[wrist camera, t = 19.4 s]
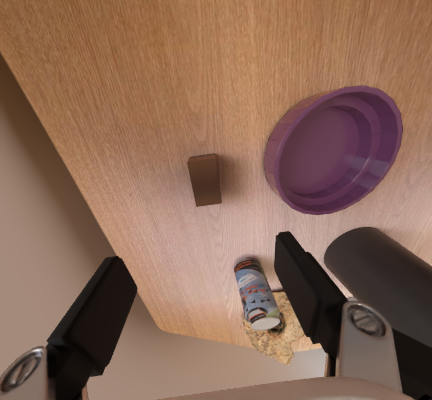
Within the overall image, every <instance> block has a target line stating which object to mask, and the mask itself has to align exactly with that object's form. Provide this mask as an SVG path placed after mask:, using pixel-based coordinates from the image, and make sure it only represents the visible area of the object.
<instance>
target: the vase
mask: <svg viewBox="0 0 432 400" xmlns="http://www.w3.org/2000/svg"><path fill="white" fill-rule="evenodd" d="M324 262H325V265H326V267H327V268H328V269H329V270H330V271H331V272H332V273H333V274H334V275H335V277H336V278H337V279H338V280H339V281H340V282H341V283H342V284H343V285H344V286H345V287H346V288H347V289H348V291H349V292H350V293H351V294H352V295H353V296H354V297H355V298H356V299H357V300H358V301H360V302H363V303H365V304H367V305H369V306H371V307H373V308H374V309H376V310H377V311H378V312H380V313H381V314H382V315H383V316H384V317H385V318H386V320H387V321H388V323H389V324H390V326H391V328H393V329H395V330H397V331H399V332H401V333H403V334H405V335H407V336H409V337H411V338H413V339H415V340H417V341H419V342H421V343H423V344H425V345H427V346H429V347H431V348H432V266H430V265H429V264H428V263H426V262H425V261H423V260H422V259H421V258H419V257H417V256H416V255H415V254H413V253H412V252H410V251H409V250H407V249H406V248H405V247H403V246H401V245H400V244H399V243H397V242H396V241H394V240H393V239H392V238H390V237H388V236H387V235H386V234H384V233H383V232H381V231H380V230H378V229H375V228H371V227H363V228H357V229H354V230H351V231H349V232H346V233H345V234H343V235H341V236H340V237H338V238H337V239H336V240H335V241H333V242H332V244H331V245H330V246H329V247H328V249H327V251H326V253H325V256H324Z"/></svg>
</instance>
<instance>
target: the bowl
mask: <svg viewBox="0 0 432 400" xmlns="http://www.w3.org/2000/svg"><path fill="white" fill-rule="evenodd" d="M402 132H403V126H402V119H401V113H400V111H399V109H398V107H397V105H396V104H395V102H394V100H393V99H392V98H391V97H390V96H388V95H387V94H386V93H384V92H383V91H382V90H380V89H376V88H372V87H368V86H363V85H362V86H352V87H343V88H339V89H335V90H332V91H328V92H324V93H320V94H317V95H315V96H312V97H310V98H307V99H305V100H303V101H302V102H300V103H299V104H297V105H296V106H295V107H293V108H292V109H291V110H289V111H288V112H287V114H286V115H285V116H284V117H283V118H282V119H281V120H280V121H279V123H278V124H277V126H276V127H275V129H274V131H273V133H272V134H271V136H270V138H269V141H268V144H267V148H266V151H265V158H264V170H265V174H266V178H267V181H268V183H269V184H270V186H271V188H272V190H273V191H274V192H275V193H276V194H277V195H278V196H279V197H280V198H281V199H282V200H283V201H284V202H286V203H287V204H288V205H289V206H290V207H291V208H293V209H295V210H297V211H299V212H302V213H304V214H312V215H322V214H330V213H334V212H337V211H340V210H343V209H345V208H347V207H349V206H351V205H353V204H355V203H357V202H358V201H360V200H361V199H362V198H364V197H365V196H366V195H368V194H369V193H370V192H371V191H373V189H374V188H375V187H376V186H377V185H378V184H379V183H380V182H381V181H382V180H383V179H384V177H385V176H386V174H387V173H388V171H389V170H390V168H391V166H392V165H393V163H394V161H395V159H396V156H397V153H398V151H399V148H400V145H401V139H402Z"/></svg>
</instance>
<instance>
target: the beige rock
mask: <svg viewBox="0 0 432 400" xmlns="http://www.w3.org/2000/svg"><path fill="white" fill-rule="evenodd" d="M273 296H274V298H275V301H276V303H277V306H278V308H279V311H280V315H279V319H280V323H279V324H278V325H276V326H275V327H273V328H270V329H267V330H261V331H256V330H253V329H252V327H251V325H250V324H249V323H248V322H247V320H246V317H245V318H244V320H243V324H244V330H245V332H246V334H247V335H248V337H249V339H250V341H251V343H252V345H253V346H254V347H255V348H256V349H257V350H258V351H259V352H261V353H263V354H265V355H266V356H269V357H272V358H274V359H276V360H277V361H279V362H281V363H283V364H284V365H288V364H290V362H291V359H292V357H293V356H294V353H293V351H292V347H291V342H293V341H295V340H297V339H299V338H301V337H303V336H304V332H303V330H302V328H301V325H300V323H299V321H298V319H297V317H296V315H295V313H294V311H293V308H292V306H291V304H290V302H289V300H288V298H287V296H286V294H285V293H284V292H280V293H276V292H273Z"/></svg>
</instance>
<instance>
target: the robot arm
mask: <svg viewBox="0 0 432 400" xmlns="http://www.w3.org/2000/svg"><path fill="white" fill-rule="evenodd" d="M274 269H275V272H276V274H277V276H278V279H279V281H280V283H281V285H282V287H283V289H284V291H285V294H286V296H287V298H288V300H289V302H290V304H291V306H292V308H293V311H294V313H295V315H296V317H297V319H298V321H299V323H300V325H301V328H302V330H303V332H304V334H305V335H306V336H307V337H310V339H311V341H312V343H313V344H316V343H320V344H321V346H322V348H323V349H324V351H325V352H326V353H327V354H326V364H325V374H324V377H319V378H310V379H301V380H292V381H284V382H276V383H270V384H262V385H255V386H248V387H241V388H234V389H227V390H220V391H213V392H207V393H200V394H193V395H186V396H180V397H173V398H166V399H159V400H432V348H431V347H429V346H427V345H425V344H423V343H421V342H419V341H417V340H415V339H413V338H411V337H409V336H407V335H405V334H403V333H401V332H399V331H397V330H395V329H393V328H391V326H390V324H389V323H388V321H387V320H386V318H385V317H384V316H383V315H382V314H381V313H380V312H378V311H377V310H376V309H374V308H373V307H371V306H369V305H367V304H365V303H363V302H360V301H348V299H347V298H346V297H345V296H344V294H343V293H342V292H341V291H340V289H339V288H338V287H337V286H336V284H335V283H334V282H333V281H332V279H331V278H330V277H329V276H328V274H327V273H326V272H325V271H324V269H323V268H322V267H321V266H320V264H319V263H318V262H317V261H316V259H315V258H314V257H313V256H312V255H311V254H310V253H309V252H305V251H304V249H303V248H302V247H301V245H300V244H299V243H298V241H297V240H296V239H295V238H294V236H293V235H292V234H291V232H289V231H287V232H280V233H279V234H278V235H277V236H276V243H275V261H274ZM136 293H137V286H136V284H135V282H134V280H133V278H132V276H131V275H130V273H129V271H128V269H127V267H126V265H125V264H124V262H123V260H122V259H121V258H119V257H118V256H114V257H107V258H105V260H104V261H103V262H102V264H101V265H100V266H99V268H98V269H97V271H96V272H95V274H94V275H93V276H92V278H91V279H90V281H89V282H88V283H87V285H86V286H85V288H84V289H83V290H82V292H81V293H80V295H79V296H78V297H77V299H76V300H75V302H74V303H73V304H72V306H71V307H70V309H69V310H68V311H67V313H66V314H65V316H64V317H63V318H62V320H61V321H60V323H59V324H58V326H57V327H56V328H55V330H54V331H53V333H52V334H51V336H50V337H49V338H48V340H47V342H48V345H47V346H46V347H43V346H38V347H35V348H32V349H31V350H29V351H27V352H25V353H24V354H23V355H21V356H20V357H19V358H18V359H16V360H15V361H14V362H13V363H12V364H11V365H10V366H9V367H8V368H7V369H6V371H5V372H4V373H3V374H2V375H1V377H0V400H88V392H87V385H86V383H87V381H88V379H89V377H92V376H99V375H102V374H103V372H104V369H105V367H106V366H107V365H108V364H109V362H110V360H111V358H112V355H113V352H114V350H115V347H116V345H117V342H118V340H119V337H120V334H121V332H122V329H123V327H124V324H125V322H126V319H127V316H128V314H129V311H130V309H131V306H132V304H133V301H134V298H135V295H136Z"/></svg>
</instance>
